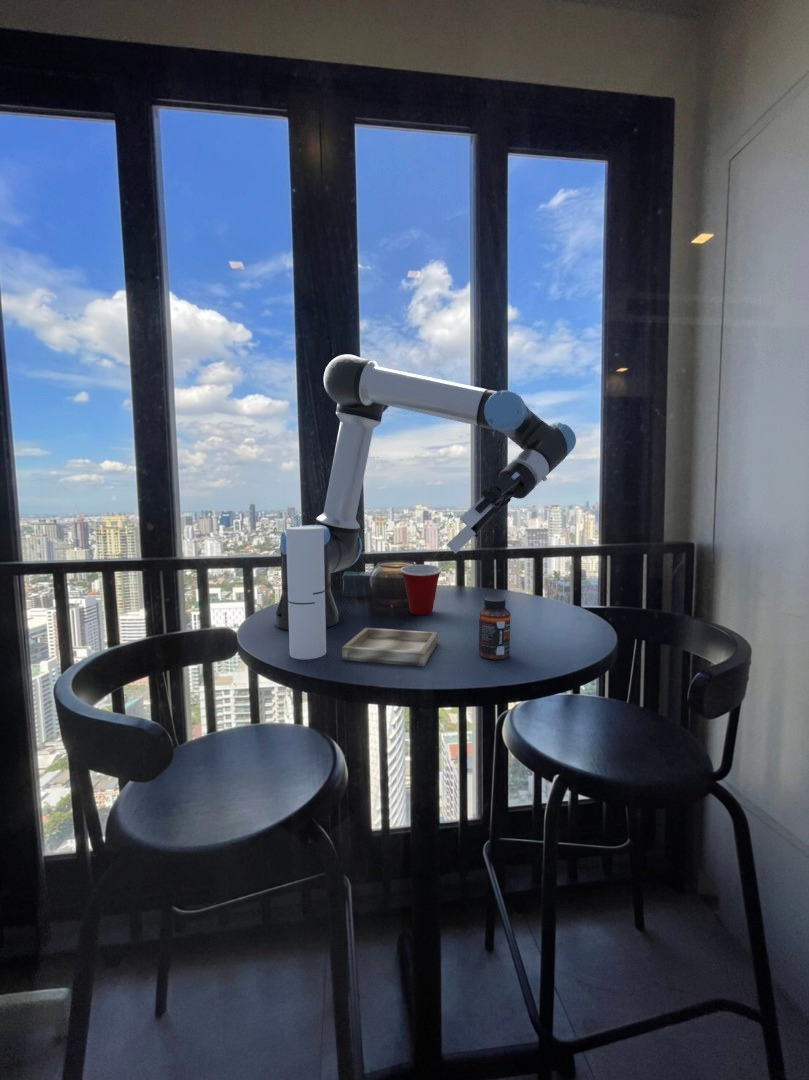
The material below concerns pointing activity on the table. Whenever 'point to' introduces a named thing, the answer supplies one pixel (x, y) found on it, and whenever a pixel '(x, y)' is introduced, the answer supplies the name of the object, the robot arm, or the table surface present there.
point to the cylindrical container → (306, 592)
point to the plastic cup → (421, 587)
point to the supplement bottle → (494, 629)
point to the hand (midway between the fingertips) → (457, 537)
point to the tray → (391, 646)
